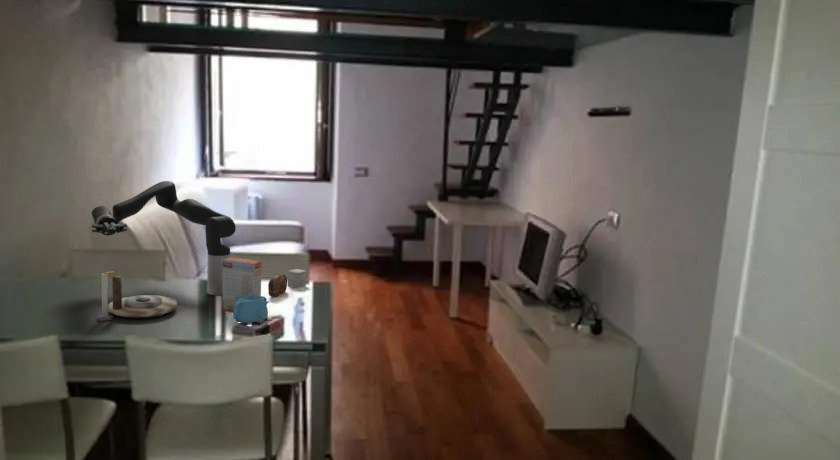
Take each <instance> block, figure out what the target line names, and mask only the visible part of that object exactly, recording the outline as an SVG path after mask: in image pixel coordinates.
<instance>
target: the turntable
mask: <svg viewBox="0 0 840 460" xmlns="http://www.w3.org/2000/svg"><path fill="white" fill-rule="evenodd" d="M111 282H112V283H111V285H112V301H111V302H110V303H108V313H111V314H112V315H115V316H117V317H118V316H119V317H120V316H125V317H148V316H156V315H161V314H165V313H167V314H169V313H170V312H174V311H175V310H176V309H177V308H178V302H177V300H176V299H174V298H173V297H169V296H165V295H157V294H156V295H155V294H154V295H152V294H151V295H150V294H146V295H145V294H143V295H141V294H140V295H132V296H125V297H122V296H123V295H122V294H123V293H122V292H123V291H122V288H123V287H122V286H123V285H122V276H121V275H115V276H112V281H111ZM165 315H166V314H165Z"/></svg>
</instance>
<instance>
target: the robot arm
mask: <svg viewBox="0 0 840 460" xmlns="http://www.w3.org/2000/svg"><path fill="white" fill-rule="evenodd" d="M177 195H178V194H177V188H176V184H175V183H174V182H173V181H169V180H165V181H164V180H163V181H160V182H157V183H155V184H153V185H152V186H150V187H148V188H146V189H144V190H143V191H142V192H140V193H138V194H137V195H135V196H133V197H131V198H129V199H126V200H124V201H122V202H118V203H116V204H114V205H113V206H112V213H111V211H110V208H109V207H107V206H106V205H99V206H96V207H95V208H93V209H92V211H91V216H92V219H93V221H94V224H92V225H91V232H92V233H97V234H98V233H99V234H101V235H104V236H108V237H109V236H113V235H115V234H116V233H117V234H119V233H122V232H123V233H124V232H127V231H128V228H127V227H128V225H127V223H124V224H120V222H121V221H123V220H125V219H127V218H130V217H132V216H135V215H137V214H138V213H139V212H140V211H142V210H143V208H144V207H145V206H146V205H147V204H148V202H149V201H150V200H152V198H154V197H155V202H156V204H157V205H158V206H160V207H161V208H164V209H165V210H168V211H170V212H173V213H175V214H177V215H179V216H180V217H182V218H184V219H185V220H187V221H188V222H190V223H193V224H197V225H201V226H205V229H204V230H205V244H206V250H207V274H206V276H207V277H206V279H207V287H206V291H207V292H206V294H208V295H211V296H223V260H224V259H227V258H230V257H231V247H230V246H228V245H225V244H222V240H221V239H224V238H229V237H232V236H233V235H234V234H235V232H236V228H237V227H236V223H235V221H234V220H233V219H232V218H231V217H230V216H229V215H226V214H222V213H221V212H217V211H215V210H213V209H212V208H210V207H208V206H206V205H204V204H202V203H201V202H200V201H198V200H195V199H193V198H186V199H183V200H181V201H180V200H179V199H178V196H177Z"/></svg>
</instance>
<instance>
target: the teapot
mask: <svg viewBox="0 0 840 460" xmlns="http://www.w3.org/2000/svg"><path fill="white" fill-rule="evenodd" d="M269 303H270V301H268V299H267V297H266V296H263V295H262V296H261V297H259V296H254V294H248V296H244V297H242V296H240V295H237V296H236V303H235V305H234V310H233V312H232V317H233V320H235V321H236V322H241V323H240V324H245V323H252V322H256V321H260V320H263V319H265V320H266V319H267V317H268V316H269V310H268V307H267V305H268V304H269ZM263 321H264V320H263ZM252 324H253V323H252Z"/></svg>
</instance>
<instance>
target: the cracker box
mask: <svg viewBox="0 0 840 460" xmlns="http://www.w3.org/2000/svg"><path fill="white" fill-rule="evenodd" d="M248 294H254V296H259V297H261V295H262V261H261V260H255V259H245V258H240V257H232V256H230V258H227V259H224V260H223V295H222V311H224V312H230V313H233V310H234V305H235V303H236V296H237V295H240V296H242V297H244V296H248Z"/></svg>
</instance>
